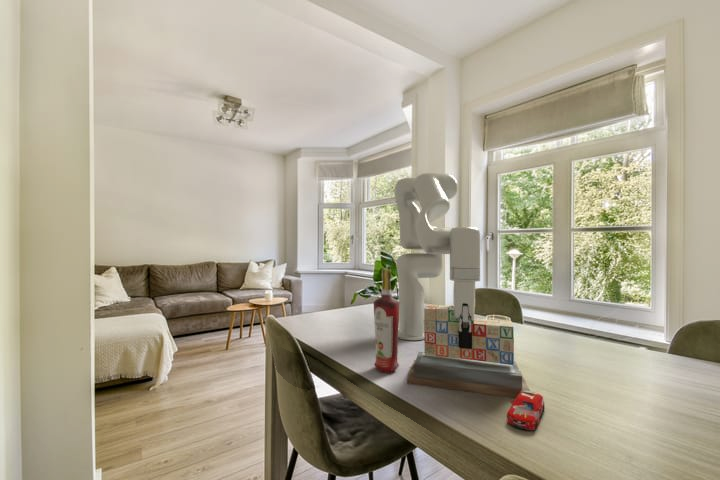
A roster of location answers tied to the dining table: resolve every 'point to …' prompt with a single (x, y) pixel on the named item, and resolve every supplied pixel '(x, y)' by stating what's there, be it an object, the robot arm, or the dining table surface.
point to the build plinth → (465, 385)
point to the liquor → (386, 327)
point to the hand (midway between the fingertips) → (465, 343)
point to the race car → (526, 410)
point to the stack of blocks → (487, 337)
